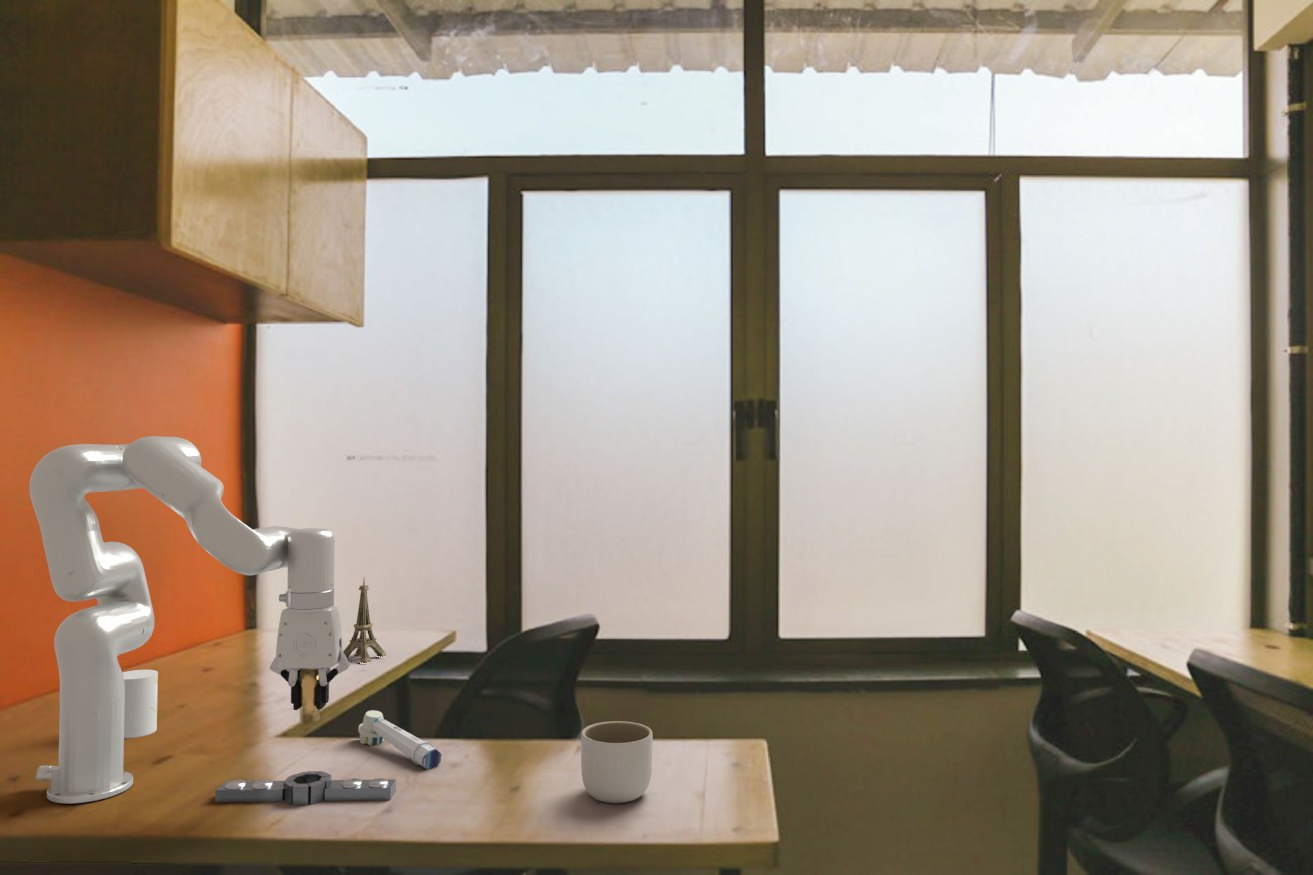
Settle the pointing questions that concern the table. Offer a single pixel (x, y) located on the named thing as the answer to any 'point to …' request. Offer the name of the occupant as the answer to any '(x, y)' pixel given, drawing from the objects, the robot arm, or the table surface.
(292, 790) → the studded octagon ring bar
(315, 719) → the pin
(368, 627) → the eiffel tower
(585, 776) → the planter
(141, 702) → the cup
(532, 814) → the table surface
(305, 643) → the robot arm
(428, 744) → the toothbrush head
